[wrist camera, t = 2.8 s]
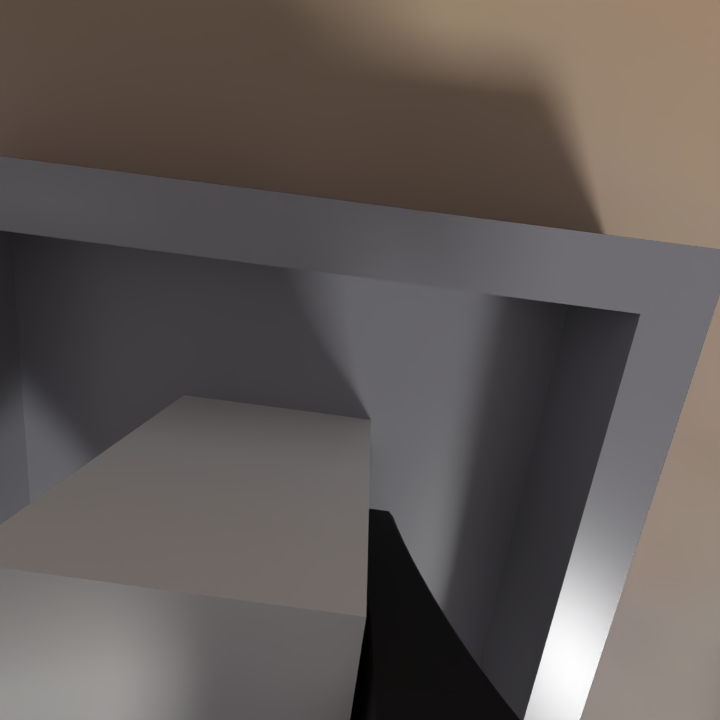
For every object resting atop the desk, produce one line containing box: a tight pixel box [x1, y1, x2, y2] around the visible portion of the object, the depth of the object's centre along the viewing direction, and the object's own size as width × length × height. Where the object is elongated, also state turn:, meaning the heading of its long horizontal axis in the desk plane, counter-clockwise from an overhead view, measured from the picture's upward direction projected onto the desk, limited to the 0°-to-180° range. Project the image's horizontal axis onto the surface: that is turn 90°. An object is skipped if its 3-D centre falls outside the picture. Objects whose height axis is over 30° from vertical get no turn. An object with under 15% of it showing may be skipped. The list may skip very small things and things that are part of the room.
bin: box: [0, 156, 720, 720], centre depth 9 cm, size 13×13×3 cm
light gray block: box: [0, 395, 371, 720], centre depth 7 cm, size 5×4×5 cm
